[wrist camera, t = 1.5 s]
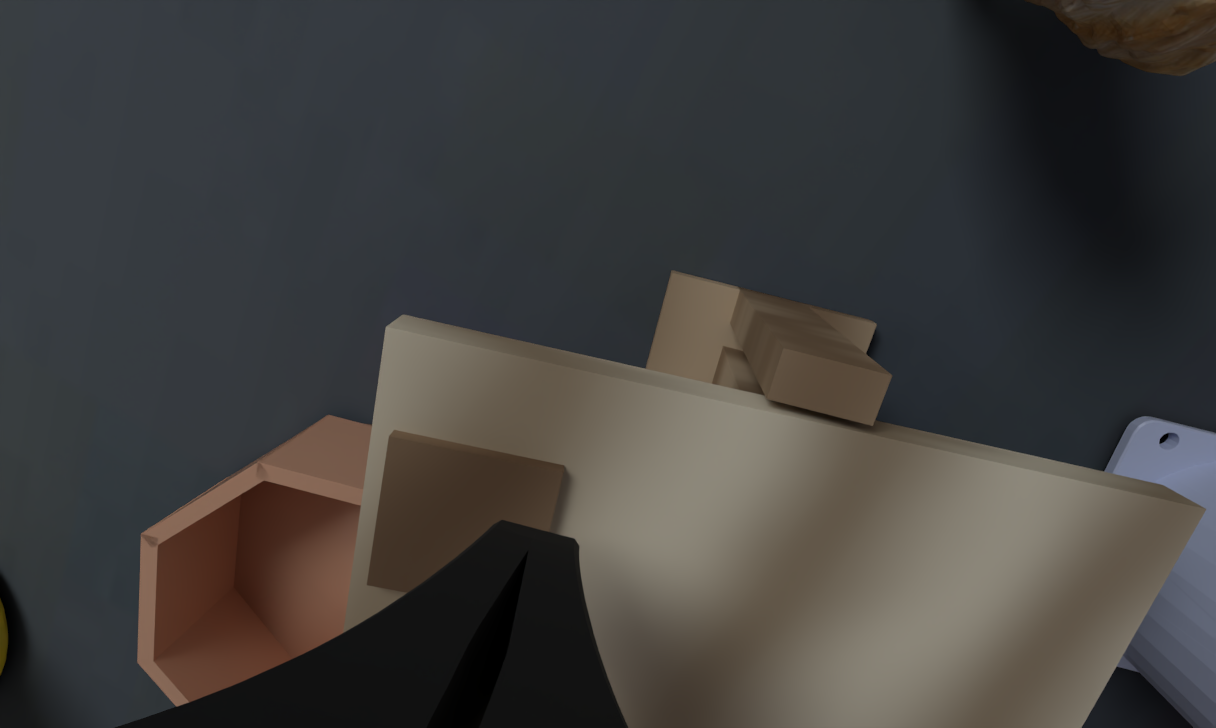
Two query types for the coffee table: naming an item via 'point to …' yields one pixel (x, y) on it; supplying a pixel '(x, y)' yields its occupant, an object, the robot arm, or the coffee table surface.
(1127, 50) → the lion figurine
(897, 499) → the lever
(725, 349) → the lever stand
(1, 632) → the stacking cups
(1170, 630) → the robot arm
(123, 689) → the coffee table surface
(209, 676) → the octagonal bowl
